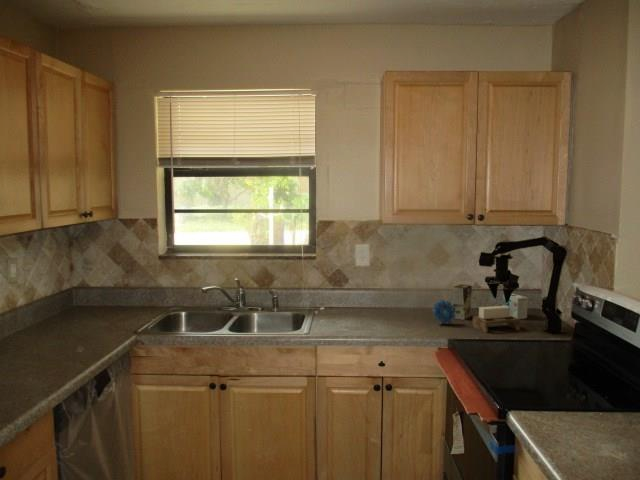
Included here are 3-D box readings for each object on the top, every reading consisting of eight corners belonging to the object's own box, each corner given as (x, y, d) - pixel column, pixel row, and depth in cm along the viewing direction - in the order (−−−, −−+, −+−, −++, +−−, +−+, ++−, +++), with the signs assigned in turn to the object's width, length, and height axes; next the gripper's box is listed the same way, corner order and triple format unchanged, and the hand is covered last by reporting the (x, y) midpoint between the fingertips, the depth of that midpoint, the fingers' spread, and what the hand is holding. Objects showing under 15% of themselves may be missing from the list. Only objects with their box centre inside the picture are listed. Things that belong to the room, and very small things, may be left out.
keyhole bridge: (519, 329, 242) (519, 319, 242) (485, 332, 238) (485, 321, 237) (505, 323, 253) (505, 313, 252) (472, 326, 248) (472, 316, 248)
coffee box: (464, 320, 260) (465, 288, 258) (452, 318, 263) (452, 286, 262) (471, 316, 267) (472, 285, 265) (458, 314, 271) (459, 283, 269)
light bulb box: (501, 314, 271) (502, 294, 269) (511, 313, 273) (512, 293, 272) (517, 319, 261) (518, 298, 260) (527, 318, 264) (528, 297, 263)
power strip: (509, 322, 246) (510, 307, 246) (483, 324, 243) (483, 309, 242) (504, 320, 250) (505, 305, 249) (478, 322, 247) (479, 307, 246)
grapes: (434, 326, 248) (435, 301, 246) (430, 323, 254) (430, 298, 253) (458, 325, 249) (459, 301, 248) (453, 322, 256) (454, 297, 254)
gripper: (529, 269, 242) (528, 303, 244) (504, 264, 260) (503, 295, 262) (508, 271, 239) (507, 304, 241) (484, 265, 257) (483, 296, 259)
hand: (500, 300), depth 251 cm, fingers open, 9 cm apart
